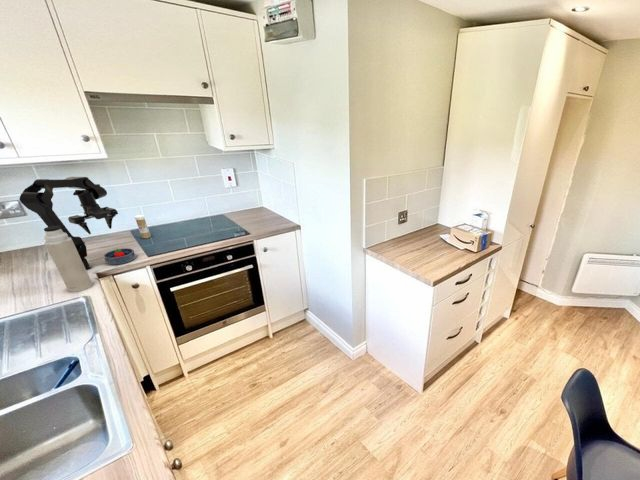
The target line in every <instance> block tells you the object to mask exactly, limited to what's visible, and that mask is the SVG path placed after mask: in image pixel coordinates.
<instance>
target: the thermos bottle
mask: <svg viewBox="0 0 640 480" xmlns="http://www.w3.org/2000/svg"><path fill="white" fill-rule="evenodd" d="M43 231H44V233H45V236H43V237H44V245H45V247H46V250H47V251H48V253H49V255H50V257H51V260H52V261H53V263H54V266H55V267H56V269H57V271H58V272H59V275H60V277H61V279H62V281H63V282H64V284H65V287H66V289H67V290H68V291H69V292H72V293H73V292H74V293H75V292H81V291H84V290H88V289H90V288H91V287H92V286H93V282H92V280H91V277H90V275H89V272H88V270H86V269H85V267H84V264H83V262H82V260H81V258H80V256H79V254H78V251H77V249H76V247H75V245H74V243H73V241H72V239H71V238H70V237H68V234H67V233H64V232H63V231H62V229H61V226H50V227H48V226H46V227H45V228H43Z"/></svg>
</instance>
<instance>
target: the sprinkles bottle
mask: <svg viewBox="0 0 640 480" xmlns="http://www.w3.org/2000/svg"><path fill="white" fill-rule="evenodd" d="M134 220H135V221H136V224H137V228H138V231H139V233H140V237H141V239H149V238H151V237H152V236H151V233H150V230H149V227H148V224H147V222H146V217H145V215H144V214H137V215H134Z"/></svg>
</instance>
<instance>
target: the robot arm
mask: <svg viewBox="0 0 640 480" xmlns="http://www.w3.org/2000/svg"><path fill="white" fill-rule="evenodd" d="M61 188H64V189H65V188H69V189H74V192H73V194H72V195H73V196H77V198H78V200H79V202H80V204H79V206H80V207H81V208H82V210H83V214H84V215H78V214H75V215H72V216H69V217H68V218H67V220H68V222H69V223H70V224H74V225H78V226H79V227H80V228H82V230H84V231H85V232H86V233H87V234H88V235H91V234H92V233H91V230H90V228H89V227H88V223H87V222H86V220H89V219H94V218H95V219H96V220H102V219H104V220H105V223H106V225H107V227H108V229H109V230H111V229H112V226H113V219H114V218H115V217H116V216H117V215H119V212H118V210H117V209H116V208H113V207H109V206H104V207H101V206H100V204H99V203H97V201H96V200H99V199H102V198H105V197H106V196H107V195H108V192H107V190H106V189H105V188H104V187H103V186H101V185H100V184H99V183H94V182H93V181H92V180H91V179H90V178H89V177H87V176H68V177H66V178H63V179H62V178H61V179H60V178H59V179H58V178H57V179H56V178H55V179H53V178H52V179H49V178H37V179H35V180H34V181H33V182H32V184H30V185H29V186H27V187H26V188H24V190H23V191H22V193H21V194H20V195H19V197H18V198H19V202H20V203H21V204H22V205H23V206H24V207H25V208H26V209H28V210H29V211H31V212H34V213H36V215H38V216H39V218H40V220H41V221H43V223H44V224H45V225H46V227H50V226H61V229H62V231H63V232H64V233H67V234H68V237H70V238H71V239H72V241H73V243H74V245H75V247H76V249H77V251H78V254H79V256H80V258H81V260H82V262H83V264H84V267H85V269H86V271H88V270H90V269H92V267H91V266H90V264H89V261H88V259H87V257H88V249H87V246H86V242H85V241H84V240H83V238H81V236H74V235H72V233H71V232H70V231H69V230H68V228H67V227H66V226H65V224H64V223H63V222H62V220H61V219H60V218H59V216H58V215H57V213H56V212H55V211H54V210H53V206H54V202H53V201H52V199H53V197H54V191H53V190H54V189H61ZM42 189H43V191H41V190H42Z"/></svg>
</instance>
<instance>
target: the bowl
mask: <svg viewBox="0 0 640 480" xmlns="http://www.w3.org/2000/svg"><path fill="white" fill-rule="evenodd" d="M117 249H118V250H121V251H122V252H124V254H125V256H122V257H116V258H115V257H114V254H115V251H116V250H117ZM117 249H113V250H110V251H107V252H105V253H104V254H103V256H102V257H103V259H104V262H105V263H106V264H107V265H112V266H113V265H114V266H115V265H123V264H126V263H130V262H131V261H133V260H135V259H136V258H137V255H136V252H135V249H134V248H128V247H127V248H125V247H123V248H117Z"/></svg>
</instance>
